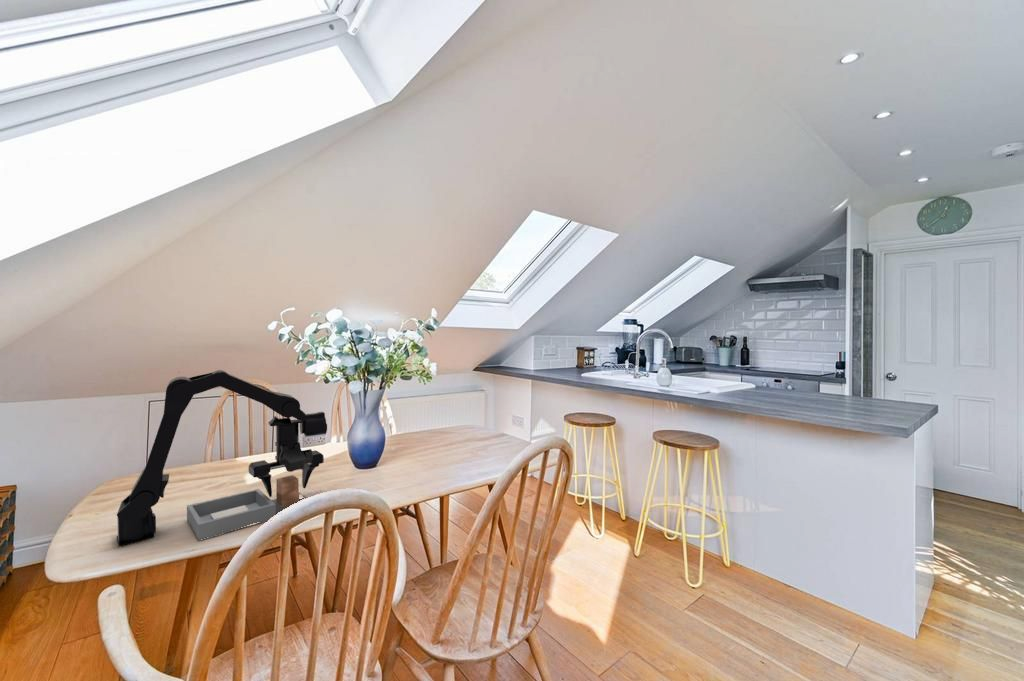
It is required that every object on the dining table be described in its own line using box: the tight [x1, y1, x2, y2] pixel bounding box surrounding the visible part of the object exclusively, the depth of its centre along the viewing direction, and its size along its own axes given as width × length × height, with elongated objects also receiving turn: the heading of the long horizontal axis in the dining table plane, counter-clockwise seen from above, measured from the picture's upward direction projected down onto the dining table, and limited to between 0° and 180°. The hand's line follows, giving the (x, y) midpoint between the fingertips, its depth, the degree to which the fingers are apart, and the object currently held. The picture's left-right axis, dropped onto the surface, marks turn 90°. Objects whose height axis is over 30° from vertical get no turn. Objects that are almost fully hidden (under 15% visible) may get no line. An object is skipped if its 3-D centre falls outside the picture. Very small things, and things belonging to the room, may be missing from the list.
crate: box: [186, 488, 277, 541], centre depth 114 cm, size 17×15×4 cm
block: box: [275, 474, 300, 507], centre depth 124 cm, size 4×4×7 cm
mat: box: [270, 495, 305, 514], centre depth 124 cm, size 10×10×1 cm
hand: (287, 492), depth 124 cm, fingers open, 9 cm apart
